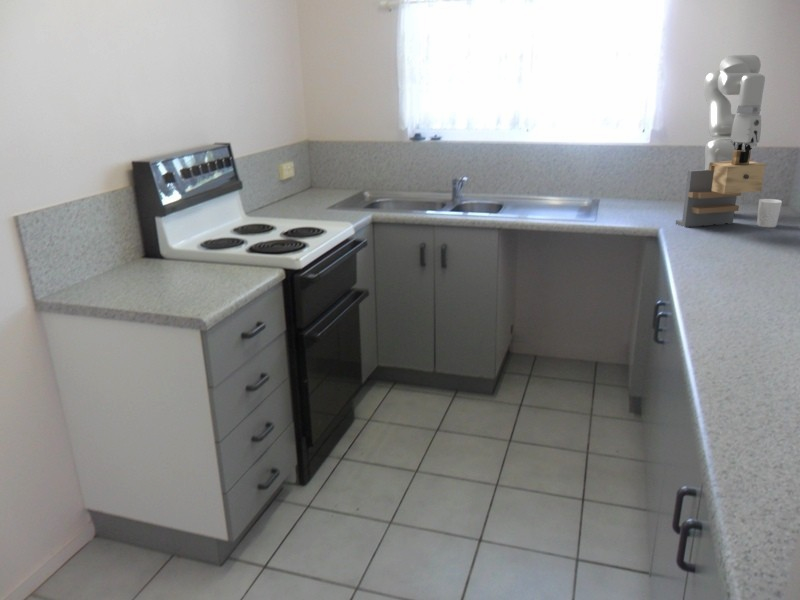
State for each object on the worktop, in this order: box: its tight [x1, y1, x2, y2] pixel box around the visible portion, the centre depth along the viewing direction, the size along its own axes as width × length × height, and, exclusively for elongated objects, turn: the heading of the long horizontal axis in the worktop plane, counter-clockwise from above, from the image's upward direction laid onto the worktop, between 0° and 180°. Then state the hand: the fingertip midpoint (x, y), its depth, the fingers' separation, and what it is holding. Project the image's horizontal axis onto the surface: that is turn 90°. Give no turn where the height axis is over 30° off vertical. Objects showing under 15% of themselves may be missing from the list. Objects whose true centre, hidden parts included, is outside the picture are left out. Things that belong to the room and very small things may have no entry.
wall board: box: [675, 168, 742, 228], centre depth 261 cm, size 10×22×22 cm, turn 103°
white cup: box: [756, 198, 783, 228], centre depth 259 cm, size 8×8×10 cm
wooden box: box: [709, 150, 766, 194], centre depth 246 cm, size 12×16×15 cm
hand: (740, 161), depth 244 cm, fingers closed on wooden box
